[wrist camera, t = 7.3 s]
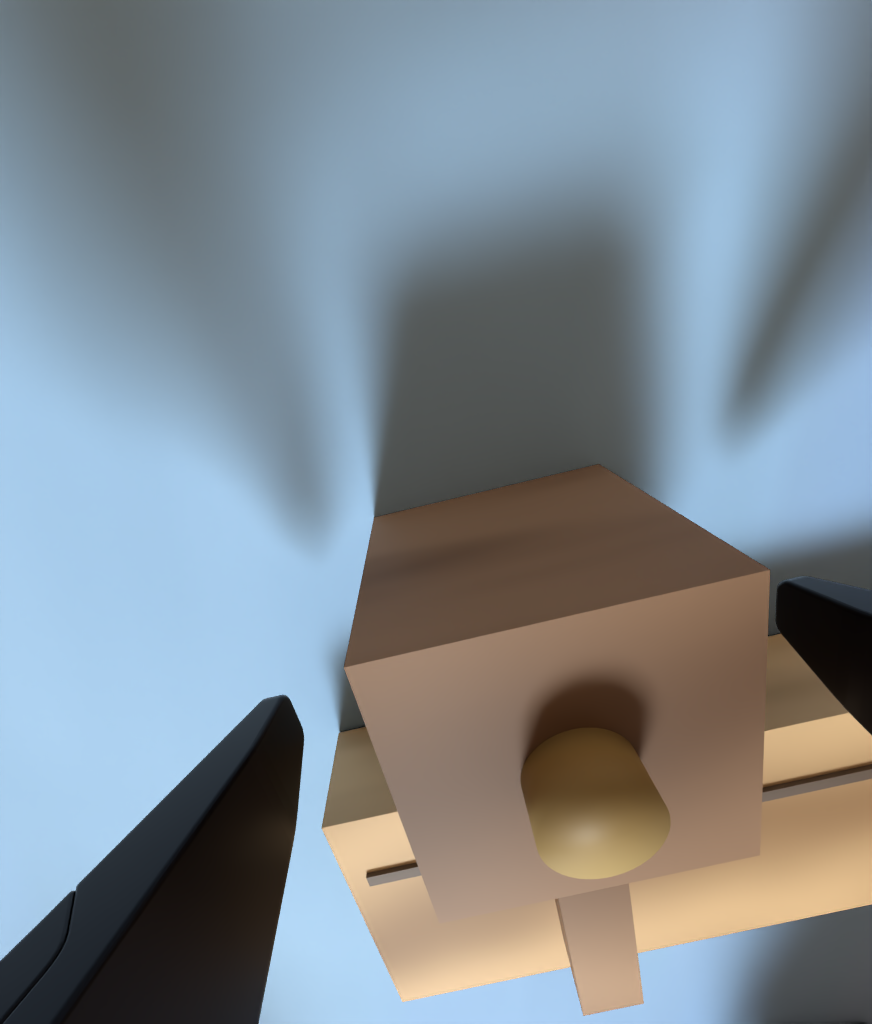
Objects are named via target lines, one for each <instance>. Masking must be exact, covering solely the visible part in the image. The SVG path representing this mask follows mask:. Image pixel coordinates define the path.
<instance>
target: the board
mask: <svg viewBox="0 0 872 1024" xmlns="http://www.w3.org/2000/svg"><path fill="white" fill-rule="evenodd" d="M322 830H323V832H324V834H325V836H326V839H327V841H328V843H329V845H330V847H331V849H332V851H333V854H334V856H335V858H336V860H337V862H338V864H339V867H340V869H341V871H342V873H343V875H344V877H345V879H346V882H347V884H348V886H349V888H350V890H351V892H352V894H353V897H354V899H355V901H356V903H357V905H358V907H359V909H360V912H361V914H362V916H363V918H364V920H365V922H366V925H367V927H368V929H369V931H370V933H371V935H372V937H373V940H374V942H375V944H376V946H377V948H378V950H379V952H380V955H381V957H382V959H383V961H384V963H385V965H386V967H387V970H388V972H389V974H390V976H391V978H392V980H393V982H394V985H395V987H396V989H397V991H398V993H399V995H400V998H401V1000H402V1002H405V1001H409V1000H414V999H419V998H424V997H429V996H434V995H438V994H443V993H448V992H453V991H458V990H462V989H467V988H472V987H477V986H482V985H486V984H491V983H496V982H501V981H506V980H511V979H515V978H520V977H525V976H530V975H535V974H539V973H544V972H549V971H554V970H559V969H563V968H568V967H571V966H570V962H569V958H568V955H567V951H566V947H565V943H564V939H563V934H562V930H561V925H560V921H559V916H558V912H557V907H556V902H555V899H553V900H548V901H543V902H539V903H534V904H529V905H525V906H520V907H515V908H511V909H506V910H501V911H497V912H492V913H487V914H482V915H478V916H473V917H468V918H464V919H459V920H454V921H450V922H445V923H440V924H439V921H438V918H437V916H436V913H435V910H434V908H433V905H432V902H431V900H430V897H429V894H428V892H427V889H426V886H425V883H424V881H423V878H422V875H421V873H420V870H419V867H418V865H417V862H416V859H415V857H414V854H413V851H412V849H411V846H410V843H409V841H408V838H407V835H406V833H405V830H404V827H403V825H402V822H401V819H400V817H399V814H398V811H397V809H396V806H395V803H394V801H393V798H392V795H391V793H390V790H389V787H388V784H387V782H386V779H385V776H384V774H383V771H382V768H381V766H380V763H379V760H378V758H377V755H376V752H375V750H374V747H373V744H372V742H371V739H370V736H369V734H368V731H367V728H366V727H362V728H358V729H353V730H349V731H344V732H340V733H339V735H338V740H337V746H336V751H335V757H334V763H333V768H332V774H331V779H330V785H329V790H328V796H327V801H326V807H325V812H324V818H323V823H322ZM629 889H630V897H631V905H632V913H633V921H634V929H635V937H636V945H637V953H640V952H645V951H650V950H655V949H660V948H665V947H669V946H674V945H679V944H684V943H689V942H693V941H698V940H703V939H708V938H713V937H717V936H722V935H727V934H732V933H737V932H742V931H746V930H751V929H756V928H761V927H766V926H770V925H775V924H780V923H785V922H790V921H794V920H799V919H804V918H809V917H814V916H818V915H823V914H828V913H833V912H838V911H843V910H847V909H852V908H857V907H862V906H867V905H871V904H872V735H871V734H870V733H869V732H868V731H867V730H866V729H865V728H864V727H863V726H862V725H861V724H860V723H859V722H858V721H857V720H856V719H855V718H854V717H853V716H852V715H851V714H850V713H849V712H848V711H847V710H846V709H845V708H844V707H843V706H842V705H841V703H840V702H839V701H838V700H837V699H836V698H835V697H834V696H833V694H832V693H831V692H830V691H829V690H828V689H827V687H826V686H825V685H824V684H823V683H822V681H821V680H820V679H819V678H818V677H817V676H816V674H815V673H814V672H813V671H812V670H811V669H810V667H809V666H808V665H807V664H806V663H805V661H804V660H803V659H802V658H801V657H800V656H799V654H798V653H797V652H796V651H795V650H794V648H793V647H792V646H791V645H790V644H789V643H788V641H787V640H786V639H785V638H784V637H783V636H782V634H777V635H773V636H768V645H767V674H766V702H765V731H764V759H763V788H762V816H761V845H760V855H759V856H755V857H750V858H745V859H741V860H736V861H731V862H726V863H722V864H717V865H712V866H708V867H703V868H698V869H694V870H689V871H684V872H680V873H675V874H670V875H665V876H661V877H656V878H651V879H647V880H642V881H637V882H633V883H629Z"/></svg>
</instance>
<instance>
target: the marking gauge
mask: <svg viewBox="0 0 872 1024" xmlns="http://www.w3.org/2000/svg"><path fill="white" fill-rule="evenodd" d="M769 588H770V569H768V568H766V567H765V566H763V565H761V564H760V563H758V562H757V561H755V560H753V559H752V558H750V557H749V556H747V555H745V554H744V553H742V552H740V551H739V550H737V549H736V548H734V547H732V546H731V545H729V544H728V543H726V542H724V541H723V540H721V539H719V538H718V537H716V536H715V535H713V534H711V533H710V532H708V531H707V530H705V529H703V528H702V527H700V526H698V525H697V524H695V523H694V522H692V521H690V520H689V519H687V518H686V517H684V516H682V515H681V514H679V513H677V512H676V511H674V510H673V509H671V508H669V507H668V506H666V505H665V504H663V503H661V502H660V501H658V500H656V499H655V498H653V497H652V496H650V495H648V494H647V493H645V492H644V491H642V490H640V489H639V488H637V487H635V486H634V485H632V484H631V483H629V482H627V481H626V480H624V479H622V478H621V477H619V476H618V475H616V474H614V473H613V472H611V471H610V470H608V469H606V468H605V467H603V466H601V465H600V464H597V465H592V466H588V467H584V468H580V469H576V470H571V471H567V472H563V473H559V474H555V475H550V476H546V477H542V478H538V479H534V480H529V481H525V482H521V483H517V484H513V485H508V486H504V487H500V488H496V489H492V490H487V491H483V492H479V493H475V494H470V495H466V496H462V497H458V498H454V499H449V500H445V501H441V502H437V503H433V504H428V505H424V506H420V507H416V508H412V509H407V510H403V511H399V512H395V513H391V514H386V515H382V516H378V517H374V521H373V526H372V531H371V536H370V540H369V545H368V550H367V555H366V560H365V565H364V570H363V575H362V580H361V585H360V590H359V595H358V600H357V605H356V610H355V615H354V620H353V625H352V630H351V635H350V640H349V645H348V649H347V654H346V659H345V664H344V669H345V672H346V675H347V677H348V680H349V683H350V685H351V688H352V691H353V694H354V696H355V699H356V702H357V704H358V707H359V710H360V712H361V715H362V718H363V720H364V723H365V726H366V728H367V731H368V734H369V736H370V739H371V742H372V744H373V747H374V750H375V752H376V755H377V758H378V760H379V763H380V766H381V768H382V771H383V774H384V776H385V779H386V782H387V784H388V787H389V790H390V793H391V795H392V798H393V801H394V803H395V806H396V809H397V811H398V814H399V817H400V819H401V822H402V825H403V827H404V830H405V833H406V835H407V838H408V841H409V843H410V846H411V849H412V851H413V854H414V857H415V859H416V862H417V865H418V867H419V870H420V873H421V875H422V878H423V881H424V883H425V886H426V889H427V892H428V894H429V897H430V900H431V902H432V905H433V908H434V910H435V913H436V916H437V918H438V921H439V924H440V923H445V922H450V921H454V920H459V919H464V918H468V917H473V916H478V915H482V914H487V913H492V912H497V911H501V910H506V909H511V908H515V907H520V906H525V905H529V904H534V903H539V902H543V901H548V900H553V899H555V902H556V907H557V912H558V916H559V921H560V925H561V930H562V934H563V939H564V943H565V947H566V951H567V955H568V958H569V962H570V966H571V970H572V974H573V978H574V981H575V985H576V989H577V993H578V997H579V1001H580V1004H581V1008H582V1012H583V1016H585V1015H590V1014H595V1013H600V1012H604V1011H609V1010H614V1009H619V1008H624V1007H629V1006H634V1005H638V1004H643V1003H644V1002H643V994H642V986H641V978H640V970H639V962H638V954H637V945H636V937H635V929H634V921H633V913H632V905H631V897H630V889H629V883H633V882H637V881H642V880H647V879H651V878H656V877H661V876H665V875H670V874H675V873H680V872H684V871H689V870H694V869H698V868H703V867H708V866H712V865H717V864H722V863H726V862H731V861H736V860H741V859H745V858H750V857H755V856H759V855H760V845H761V816H762V788H763V759H764V731H765V702H766V674H767V645H768V617H769Z"/></svg>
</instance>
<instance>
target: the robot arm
mask: <svg viewBox="0 0 872 1024" xmlns="http://www.w3.org/2000/svg"><path fill="white" fill-rule="evenodd" d="M775 619H776V624H777V627H778V629H779V631H780V633H781V634H782V636H783V637H784V638H785V639H786V640H787V641H788V643H789V644H790V645H791V646H792V647H793V648H794V650H795V651H796V652H797V653H798V654H799V656H800V657H801V658H802V659H803V660H804V661H805V663H806V664H807V665H808V666H809V667H810V669H811V670H812V671H813V672H814V673H815V674H816V676H817V677H818V678H819V679H820V680H821V681H822V683H823V684H824V685H825V686H826V687H827V689H828V690H829V691H830V692H831V693H832V694H833V696H834V697H835V698H836V699H837V700H838V701H839V702H840V703H841V705H842V706H843V707H844V708H845V709H846V710H847V711H848V712H849V713H850V714H851V715H852V716H853V717H854V718H855V719H856V720H857V721H858V722H859V723H860V724H861V725H862V726H863V727H864V728H865V729H866V730H867V731H868V732H869V733H870V734H871V735H872V590H867V589H863V588H858V587H854V586H849V585H845V584H840V583H836V582H831V581H826V580H822V579H817V578H813V577H808V576H801V577H796V578H792V579H787V580H783V581H782V582H780V583H779V584H778V586H777V593H776V618H775ZM303 746H304V733H303V728H302V726H301V723H300V721H299V719H298V717H297V714H296V712H295V710H294V707H293V705H292V703H291V701H290V699H289V698H288V697H287V696H286V695H279V696H275V697H270V698H266V699H264V700H262V701H261V702H260V703H259V704H258V705H257V706H256V707H255V708H254V709H253V710H252V711H251V712H250V713H249V714H248V715H247V716H246V717H245V718H244V719H243V720H242V721H241V722H240V723H239V724H238V725H237V726H236V727H235V728H234V729H233V730H232V731H231V732H230V733H229V734H228V735H227V736H226V737H225V738H224V739H223V740H222V741H221V742H220V743H219V744H218V745H217V746H216V747H215V748H214V749H213V750H212V751H211V752H210V753H209V754H208V755H207V756H206V757H205V758H204V759H203V760H202V761H201V762H200V763H199V764H198V765H197V766H196V767H195V768H194V769H193V770H192V771H191V772H190V773H189V774H188V775H187V776H186V777H185V778H184V779H183V780H182V781H181V782H180V783H179V784H178V785H177V786H176V787H175V788H174V789H173V790H172V791H171V792H170V793H169V794H168V795H167V796H166V797H165V798H164V799H163V800H162V801H161V802H160V803H159V804H158V805H157V806H156V807H155V808H154V809H153V810H152V811H151V812H150V813H149V814H148V815H147V816H146V817H145V818H144V819H143V820H142V821H141V822H140V823H139V824H138V825H137V826H136V827H135V828H134V829H133V830H132V831H131V832H130V833H129V834H128V835H127V836H126V837H125V838H124V839H123V840H122V841H121V842H120V843H119V844H118V845H117V846H116V847H115V848H114V849H113V850H112V851H111V852H110V853H109V854H108V855H107V856H106V857H105V858H104V859H103V860H102V861H101V862H100V863H99V864H98V865H97V866H96V867H95V868H94V869H93V870H92V871H91V872H90V873H89V874H88V875H87V876H86V877H85V878H84V879H83V880H82V881H81V882H80V883H79V884H78V885H77V887H76V891H71V892H70V893H69V894H68V895H67V896H66V897H65V898H64V899H63V900H62V901H61V902H60V903H59V904H58V905H57V906H56V907H55V908H54V909H53V910H52V911H51V912H50V913H49V914H48V915H47V916H46V917H45V918H44V919H43V920H42V921H41V922H40V923H39V924H38V925H37V926H36V927H35V928H34V929H33V930H32V931H31V932H29V933H28V934H27V935H26V936H25V937H24V938H23V939H22V940H21V941H20V942H19V943H18V944H17V945H16V946H15V947H14V948H13V949H12V950H11V951H10V952H9V953H8V954H7V955H6V956H5V957H4V958H3V959H2V960H1V961H0V1024H258V1023H259V1018H260V1013H261V1007H262V1002H263V997H264V992H265V987H266V982H267V976H268V971H269V966H270V961H271V956H272V951H273V945H274V940H275V935H276V930H277V925H278V919H279V914H280V909H281V904H282V899H283V894H284V888H285V883H286V878H287V873H288V868H289V863H290V857H291V852H292V847H293V841H294V835H295V829H296V821H297V812H298V801H299V790H300V779H301V768H302V757H303Z"/></svg>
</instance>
